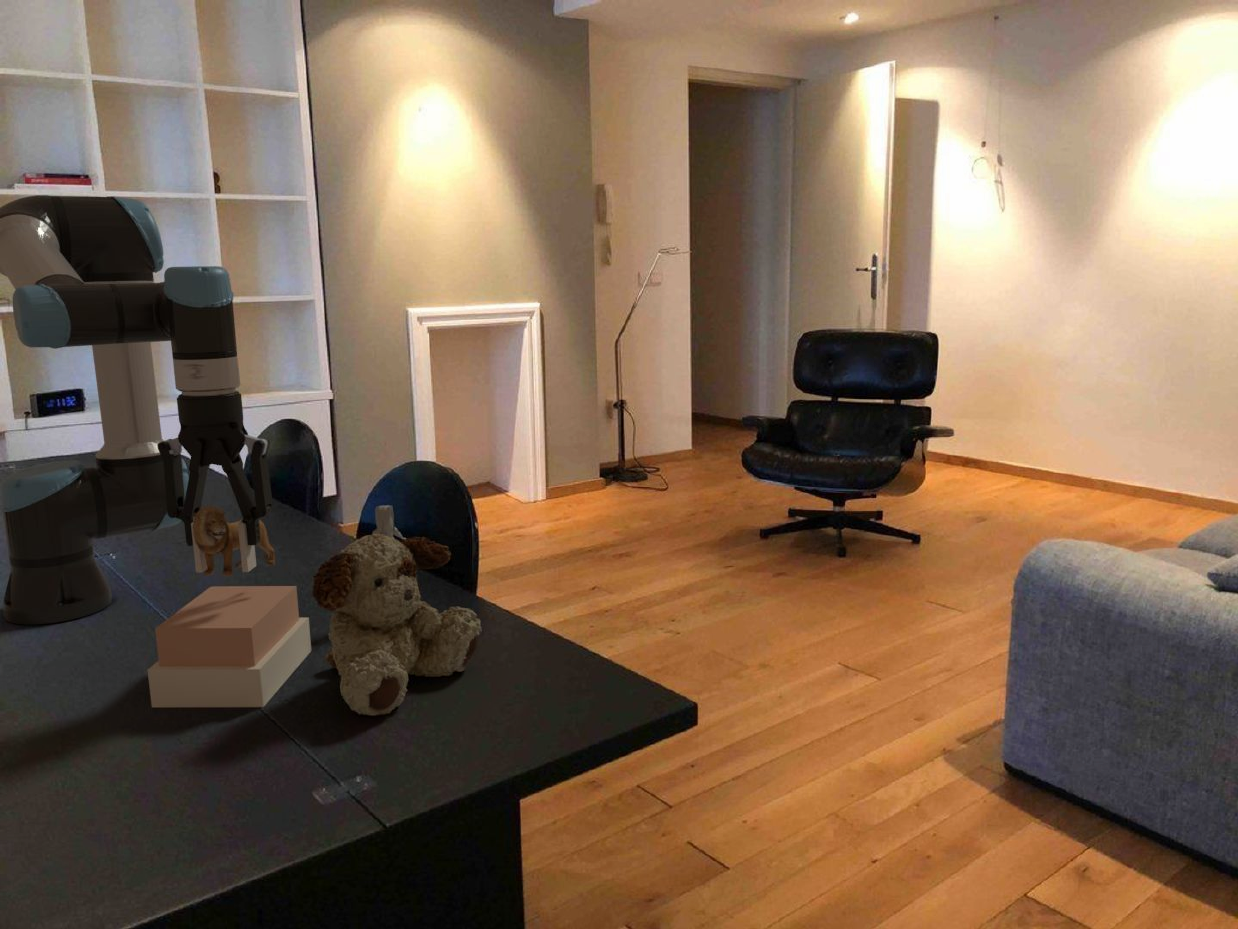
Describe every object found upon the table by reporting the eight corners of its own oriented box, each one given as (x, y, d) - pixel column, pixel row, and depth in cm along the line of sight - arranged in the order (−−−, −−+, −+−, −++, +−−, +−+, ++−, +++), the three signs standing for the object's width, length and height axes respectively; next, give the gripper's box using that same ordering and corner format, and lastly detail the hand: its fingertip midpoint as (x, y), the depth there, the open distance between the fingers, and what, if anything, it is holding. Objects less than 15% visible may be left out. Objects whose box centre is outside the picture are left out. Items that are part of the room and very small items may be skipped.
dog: (369, 733, 114) (357, 569, 110) (264, 698, 124) (250, 547, 120) (495, 664, 133) (489, 523, 129) (396, 638, 143) (387, 506, 139)
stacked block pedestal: (151, 707, 121) (142, 631, 119) (213, 651, 139) (207, 584, 137) (263, 707, 121) (256, 631, 119) (311, 650, 139) (305, 583, 137)
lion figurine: (220, 580, 121) (218, 508, 120) (182, 579, 122) (180, 507, 121) (284, 563, 135) (283, 498, 135) (250, 562, 136) (248, 498, 136)
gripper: (120, 396, 119) (142, 578, 124) (270, 394, 119) (286, 577, 123) (151, 388, 126) (170, 561, 131) (291, 386, 126) (306, 560, 130)
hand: (226, 568), depth 127 cm, fingers closed on lion figurine, 5 cm apart
